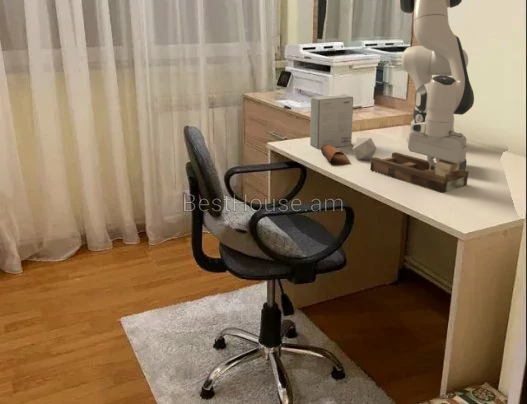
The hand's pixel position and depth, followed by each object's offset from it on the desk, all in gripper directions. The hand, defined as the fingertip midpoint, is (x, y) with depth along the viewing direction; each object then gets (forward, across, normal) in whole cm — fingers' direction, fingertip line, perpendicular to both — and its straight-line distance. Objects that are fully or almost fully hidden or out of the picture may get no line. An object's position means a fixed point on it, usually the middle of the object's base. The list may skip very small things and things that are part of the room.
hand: (433, 170), depth 188 cm
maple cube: (+1, -5, 0) cm, 5 cm away
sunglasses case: (+5, +40, +5) cm, 41 cm away
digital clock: (+4, +6, -19) cm, 21 cm away
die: (+4, +34, -3) cm, 34 cm away
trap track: (+4, +7, 0) cm, 8 cm away
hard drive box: (+4, +56, -7) cm, 56 cm away
